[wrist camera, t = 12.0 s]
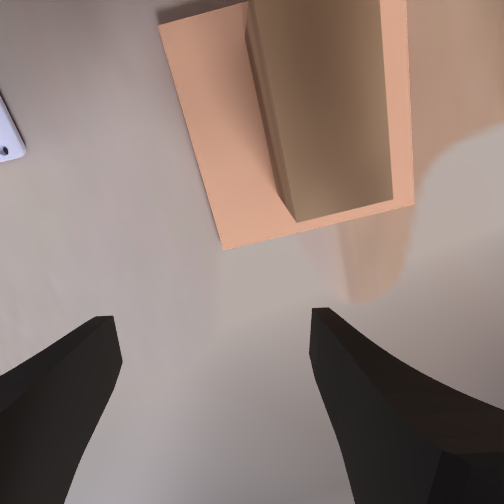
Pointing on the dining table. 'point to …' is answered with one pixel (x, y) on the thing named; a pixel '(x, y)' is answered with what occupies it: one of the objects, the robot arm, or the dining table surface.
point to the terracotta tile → (251, 126)
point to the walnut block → (322, 102)
